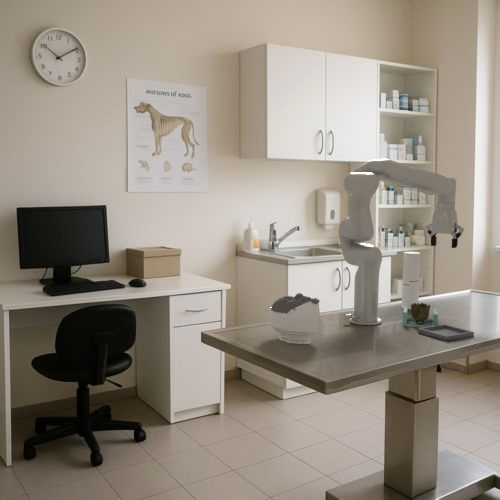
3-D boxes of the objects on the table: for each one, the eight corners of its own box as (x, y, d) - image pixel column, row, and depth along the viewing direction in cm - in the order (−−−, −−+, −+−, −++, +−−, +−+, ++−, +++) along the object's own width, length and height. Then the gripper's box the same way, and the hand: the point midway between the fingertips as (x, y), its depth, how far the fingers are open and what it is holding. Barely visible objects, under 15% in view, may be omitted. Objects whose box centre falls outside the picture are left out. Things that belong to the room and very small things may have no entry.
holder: (437, 328, 237) (437, 314, 236) (402, 326, 240) (403, 312, 240) (436, 321, 248) (436, 308, 248) (403, 319, 252) (403, 306, 251)
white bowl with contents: (328, 342, 216) (285, 332, 230) (329, 294, 214) (286, 287, 228) (305, 349, 207) (262, 338, 220) (306, 299, 205) (262, 292, 218)
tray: (446, 341, 218) (446, 336, 218) (418, 332, 230) (418, 328, 230) (473, 336, 225) (473, 331, 225) (444, 328, 237) (444, 324, 237)
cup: (406, 322, 246) (407, 303, 245) (421, 321, 249) (421, 301, 248) (418, 326, 239) (419, 306, 238) (433, 325, 242) (434, 305, 241)
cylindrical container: (418, 309, 271) (420, 253, 268) (401, 308, 272) (403, 253, 270) (417, 306, 278) (419, 252, 275) (401, 305, 279) (403, 251, 276)
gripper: (422, 206, 264) (421, 245, 266) (460, 207, 251) (458, 249, 253) (432, 205, 269) (430, 244, 271) (469, 207, 256) (466, 248, 258)
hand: (443, 246), depth 262 cm, fingers open, 9 cm apart
